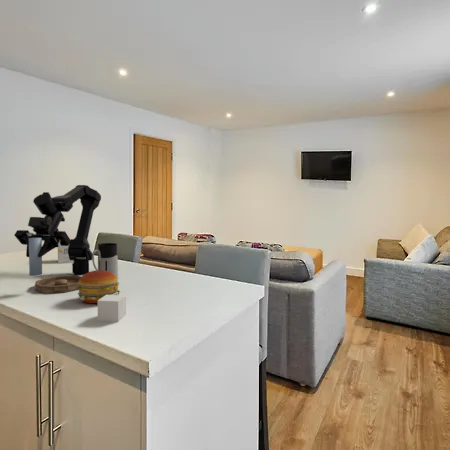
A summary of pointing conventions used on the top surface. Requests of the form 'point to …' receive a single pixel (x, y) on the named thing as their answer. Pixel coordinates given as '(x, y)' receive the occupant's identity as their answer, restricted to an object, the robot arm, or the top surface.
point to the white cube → (112, 308)
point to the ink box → (63, 254)
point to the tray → (57, 284)
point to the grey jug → (107, 258)
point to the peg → (35, 256)
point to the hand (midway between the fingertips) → (33, 256)
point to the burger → (97, 285)
